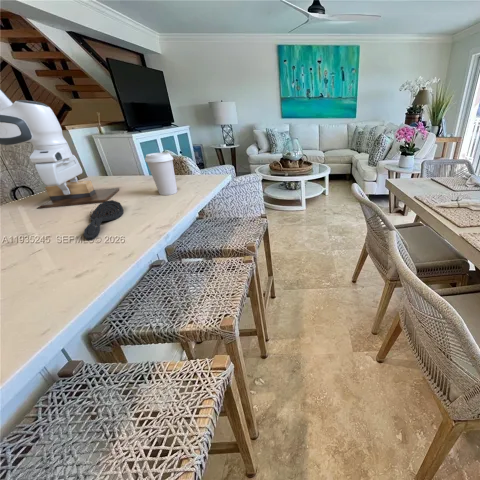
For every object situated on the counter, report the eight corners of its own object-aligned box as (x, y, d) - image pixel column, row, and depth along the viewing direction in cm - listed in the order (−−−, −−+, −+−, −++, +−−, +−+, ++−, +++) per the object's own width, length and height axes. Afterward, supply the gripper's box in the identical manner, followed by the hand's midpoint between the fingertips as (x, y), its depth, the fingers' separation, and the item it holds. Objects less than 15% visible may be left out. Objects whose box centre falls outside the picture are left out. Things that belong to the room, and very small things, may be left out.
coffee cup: (153, 192, 107) (141, 153, 100) (178, 188, 112) (169, 151, 105) (157, 198, 100) (145, 157, 93) (184, 193, 105) (174, 154, 99)
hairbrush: (65, 233, 67) (93, 199, 86) (72, 246, 68) (98, 209, 88) (105, 228, 69) (123, 196, 89) (110, 240, 71) (127, 206, 91)
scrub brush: (51, 200, 95) (44, 187, 93) (58, 196, 99) (51, 183, 97) (91, 196, 99) (85, 183, 96) (96, 193, 103) (90, 180, 101)
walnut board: (37, 208, 91) (35, 206, 90) (60, 195, 104) (59, 192, 104) (105, 202, 96) (104, 199, 96) (119, 190, 110) (118, 187, 109)
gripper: (58, 149, 99) (74, 185, 106) (25, 158, 82) (47, 200, 89) (78, 148, 101) (93, 183, 108) (50, 157, 84) (69, 198, 91)
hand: (72, 191), depth 98 cm, fingers closed on scrub brush, 5 cm apart
